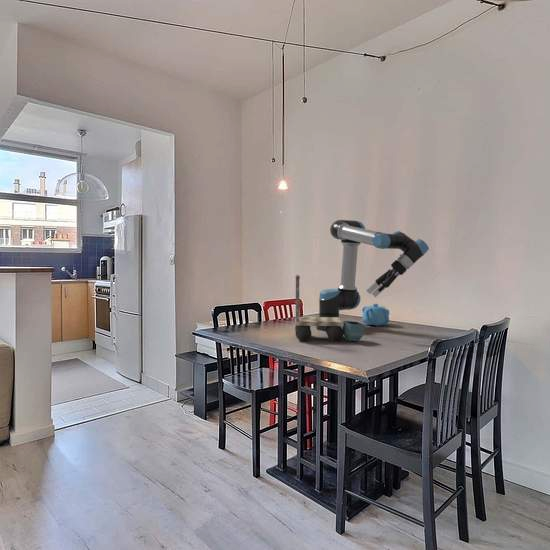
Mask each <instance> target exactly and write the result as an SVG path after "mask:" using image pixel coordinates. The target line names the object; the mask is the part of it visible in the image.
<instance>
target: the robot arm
mask: <svg viewBox="0 0 550 550" xmlns="http://www.w3.org/2000/svg"><path fill="white" fill-rule="evenodd" d="M329 230H330V235H331V236H332V237H333V238H334V239H336V240H340V244H341V245H342V250H343V251H342V259H341V261H342V262H341V272H340V274H341V277H340V285H339V286H337V288H329V289H327V288H326V289H323V290H321V291H320V292H319V298H318V300H319V301H318V302H319V303H318V306H319V308H318V309H319V315H318V317H340V311H346V310H347V311H350V310H354V309H356V308H357V307H358V306H359V305H360V302H361V295H360V292H359V291H358V287H356V276H357V263H358V261H357V260H358V251H359V250H358V249H359V246H360V245H361V244H366V245H369V246H373V247H375V248H376V249H381V250H382V249H383V250H384V249H386V250H388V249H390V250H395V249H396V250H401V251H402V252H403V253H402V254H399V256H398V257H397V259H395V260H394V261H393V262H391V264H390V266H391V269H388V270H387V271H386V272H385V273H383V274H382V275H381V276H379V277H378V278H376V279H375V282H373V284H371V285H370V286H369V287H368V288H367V289H366V292H367V293H368V294H369V295H372V296H374V298H377V297H378V296H379V295H380V294H381V293H382V292H383V291H384V290H385V289H386V288H390V286H391V285H392V284H393V283H394V281H395V280H396V279H397V278H398V277H399V276H403V275H404V274H405V273H406V272H407V270H409V269H410V268H411V267H412V266H413V265H414V264H416V263H417V262H418V260H420V259H421V258H422V257H423V256H425V254H426V253H427V252H428V251H429V249H430V247H429V246H428V244H427V243H426V242H425V241H424V240H422V239H420V238H418V239H416V240H414V239H413V238H411V237H410V236H408V235H407V234H406V233H405V232H402V231H399V230H396V231H394V232H393V233H386V232H381V231H376V230H373V229H371V230H370V229H366V226H365V225H364V223H362V222H361V221H358V220H349V219H346V220H345V219H338V220H335V221H334V222H332V224H331V225H330V229H329ZM340 327H341V328H342V329H343V326H340ZM315 328H316V330H320V331H325V326H315Z"/></svg>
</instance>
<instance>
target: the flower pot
mask: <svg viewBox="0 0 550 550" xmlns="http://www.w3.org/2000/svg"><path fill="white" fill-rule="evenodd" d="M342 321H343V322H344V326H342V330H343V333H344V334H343V338H344V339H346V340H347V341H349V342H359V341H361V339H362V338H363V336H364V333H365V329H366V326H367V325H366V324H365V323H363V322H362V323H361V322H359V321H351V320H350V321H349V320H342Z"/></svg>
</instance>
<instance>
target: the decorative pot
mask: <svg viewBox="0 0 550 550" xmlns="http://www.w3.org/2000/svg"><path fill="white" fill-rule="evenodd" d="M361 311H362V316H361V321H362V323H363V324H364V325H366V326H374V327H380V326H381V327H382V326H385V325H387V324H389V323H390V322H391V319H390V318H389V317H390V310H389V309H388V308H386V307H385V306H382V305H381V306H379V303H373V304H372V305H369V306H364V307H363V308H362V310H361Z"/></svg>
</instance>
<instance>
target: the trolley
mask: <svg viewBox="0 0 550 550" xmlns="http://www.w3.org/2000/svg"><path fill="white" fill-rule="evenodd" d="M300 279H301V276H300V275H299V274H295V317H294V319H295V320H294V321H295V323H294V324H295V327H294V331H295V337H296V339H297V340H298V341H300V342H307V341H309V340H310V339H311V337H312V335H313V334H312V330H311V326H313V327H316V326H325V330H324V332H325V333H326V335H327V337H328V339H329V340H330V341H331V342H335V343H336V342H340V341H341V340H342V339H343V338H344V333H343V326H344V322H343V321H344V320H343V319H342V318H341V317H340V316H339V317H319V316H300ZM340 326H342V328H341V327H340Z"/></svg>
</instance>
